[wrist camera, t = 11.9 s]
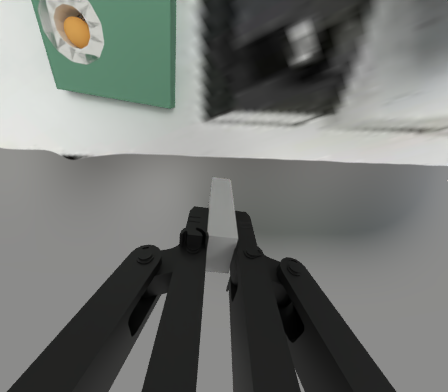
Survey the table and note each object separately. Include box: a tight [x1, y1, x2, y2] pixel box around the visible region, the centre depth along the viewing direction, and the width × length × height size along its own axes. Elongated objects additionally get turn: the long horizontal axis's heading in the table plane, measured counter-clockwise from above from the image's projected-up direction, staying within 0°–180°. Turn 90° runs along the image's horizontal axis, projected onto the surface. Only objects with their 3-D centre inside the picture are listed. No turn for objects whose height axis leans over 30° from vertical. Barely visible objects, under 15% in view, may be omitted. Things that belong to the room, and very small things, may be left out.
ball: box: [64, 16, 90, 49], centre depth 28 cm, size 4×4×4 cm
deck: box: [31, 0, 176, 109], centre depth 29 cm, size 18×20×4 cm
